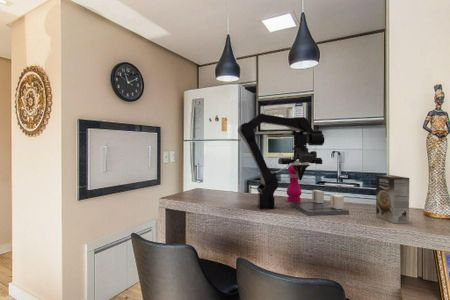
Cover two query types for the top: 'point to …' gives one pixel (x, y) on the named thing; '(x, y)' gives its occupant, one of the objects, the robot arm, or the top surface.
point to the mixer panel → (317, 208)
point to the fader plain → (318, 196)
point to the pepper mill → (293, 186)
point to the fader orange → (337, 201)
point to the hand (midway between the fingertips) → (300, 180)
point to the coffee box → (392, 198)
